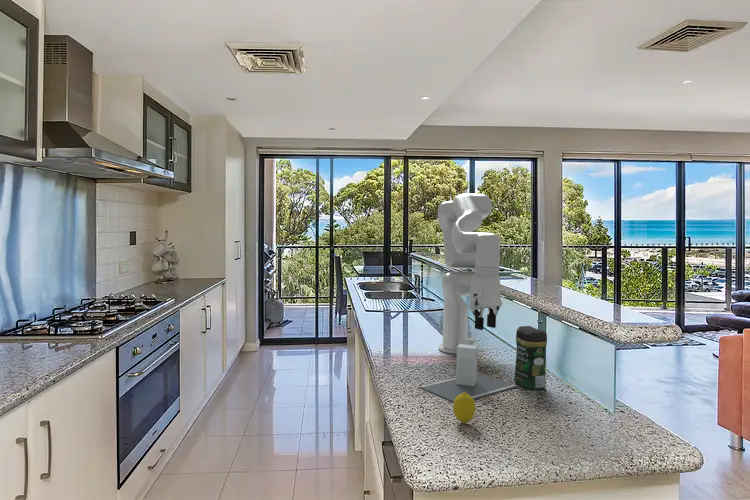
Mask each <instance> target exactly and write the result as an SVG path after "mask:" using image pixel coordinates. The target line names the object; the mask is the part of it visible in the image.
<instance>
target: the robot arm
mask: <svg viewBox="0 0 750 500" xmlns="http://www.w3.org/2000/svg"><path fill="white" fill-rule="evenodd" d="M492 205H493V204H492V199H491V198H490V197H489V196H488V195H487V194H483V193H461V194H458V195H456V196H455V197H454V198H453V200H447V201H442V202H441V203H440V204H439V205H438V209H437V219H438V224H439V227H440V229H441V232H442V236H443V251H444V252H443V255H444V264H445V265H446V267H447V268H449V269H454V270H455V269H456V270H458V269H459V270H463V269H464V270H471V271H448V272H446V273H444V274H443V276H442V280H441V287H442V295H443V296H442V297H443V316H442V317H443V321H442V324H443V325H442V344H440V345H438V350H439V351H440V352H442V353H445V354H455V355H457V346H458V345H459V344H463V345H471V344H474V343H475V341H476V340H475V339H474V338H468V317H469V316H468V313H469V311H468V310H470V311H471V313H472V315H473V317H474V329H476V330H479V331H483V330H484V323H485V319H484V318H485V317H483V315H484V311H485V309H487V311H488V314H487V315H486V326H487V327H489V328H493V329H496V328H497V315H498V314H499V310H500V308H501V307H502V306H503V302H502V300H501V297H502V290H501V288H502V287H501V278H500V258H501V257H500V256H501V255H500V254H501V251H500V250H501V237H500V235H499V234H497V233H493V232H480V231H479V232H477V231H476V230H477V229H479V228H480V227H481V225H482V224H483V220H484V219H486V218H487V217H488V216H489V215H490V214H491V213H492V208H493V206H492ZM464 296H469V305H468V304H467V303H466V301H465V300H464V298H463V297H464Z"/></svg>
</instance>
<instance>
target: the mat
mask: <svg viewBox="0 0 750 500" xmlns="http://www.w3.org/2000/svg"><path fill="white" fill-rule="evenodd" d="M517 387H518V386H517V385H516V384H513V383H509V382H506V381H504V380H500V379H498V378H495V377H492V376H489V375H486V374H484V373H481V372H478V371H477V383H476V385H475V387H474V386H466V385H458V384H456V377H454V378H453V377H452V378H450V379H446V380H441V381H439V382H438V381H437V382H435V383H434V382H433V383H428V384H424V385H421V386H419V389H421V390H424V391H426V392H428V393H431V394H433V395H435V396H438V397H439V398H441V399H442V398H443V399H444V400H447V401H449V402H452V403H453V404H454V401H455V398H456V397H457V396H458V395H460V394H462V393H464V392H465V393H467V394H468V395H470V396H471V397H472V398H473V400H474V401H475V400H478V399H481V398H484V397H488V396H491V395H494V394H498V393H502V392H506V391H508V390H511V389H512V390H513V389H514V388H517Z"/></svg>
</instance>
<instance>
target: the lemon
mask: <svg viewBox="0 0 750 500" xmlns="http://www.w3.org/2000/svg"><path fill="white" fill-rule="evenodd" d="M452 407H453V408H452V409H453V415H454V417H455V418H456V420H458V421H460V422H461V423H462V424H466V423H467V422H470V421H471V420H473V418H474V417H475V414H476V402H475V400H473V398H472V397H471V396H470V395H468V394H467V393H465V392H464V393H462V394H460V395H458V396H457V397H456V398H455V401H454V403H453V406H452Z"/></svg>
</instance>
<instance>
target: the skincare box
mask: <svg viewBox="0 0 750 500" xmlns="http://www.w3.org/2000/svg"><path fill="white" fill-rule="evenodd" d="M478 349H479V348H478V345H474V344H473V345H471V344H469V345H463V344H459V345H458V346H457V354H456V367H455V368H456V370H455V371H456V372H455V378H456V384H458V385H466V386H474V387H475V385H476V383H477V373H478Z"/></svg>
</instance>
